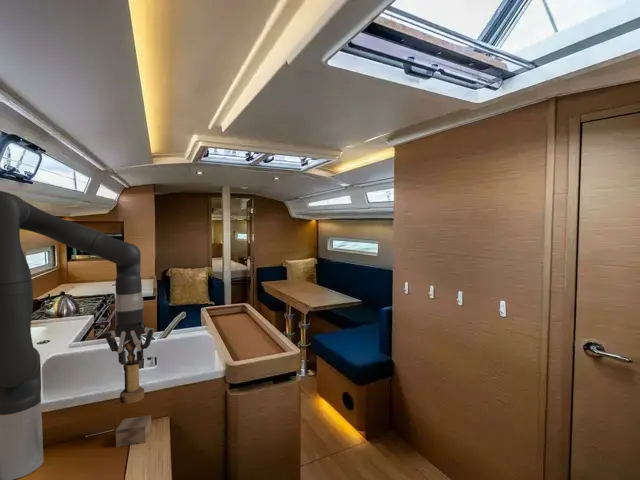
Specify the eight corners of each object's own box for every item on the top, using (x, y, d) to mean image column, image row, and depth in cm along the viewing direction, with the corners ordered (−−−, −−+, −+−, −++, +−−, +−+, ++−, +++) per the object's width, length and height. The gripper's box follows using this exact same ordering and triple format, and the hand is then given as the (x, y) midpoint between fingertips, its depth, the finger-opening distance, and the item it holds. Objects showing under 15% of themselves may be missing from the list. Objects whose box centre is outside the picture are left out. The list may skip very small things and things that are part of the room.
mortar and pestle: (148, 393, 107) (146, 337, 107) (138, 403, 100) (136, 344, 100) (127, 394, 107) (125, 338, 106) (115, 404, 100) (113, 344, 100)
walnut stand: (116, 447, 100) (115, 430, 100) (124, 434, 106) (123, 418, 106) (145, 442, 101) (144, 426, 101) (151, 430, 108) (150, 415, 108)
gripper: (98, 312, 98) (100, 370, 98) (150, 308, 101) (152, 365, 101) (108, 307, 105) (110, 361, 106) (157, 303, 108) (159, 356, 109)
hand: (131, 362), depth 103 cm, fingers closed on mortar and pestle, 4 cm apart
